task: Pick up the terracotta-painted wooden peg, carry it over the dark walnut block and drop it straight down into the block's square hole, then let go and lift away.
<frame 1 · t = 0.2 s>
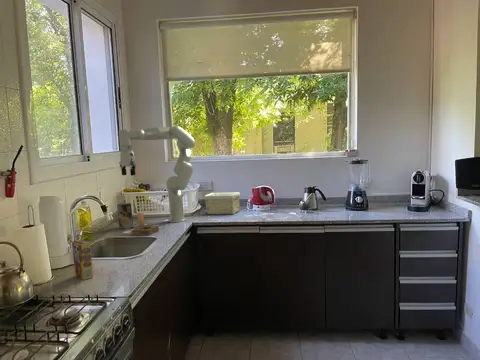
hand: (128, 175, 240), 36 cm above the countertop, tool pointing down, fingers open, 9 cm apart
hole block: (145, 232, 231), on the countertop
storage basket: (223, 212, 283), on the countertop
coffee box: (126, 227, 251), on the countertop
candy box: (84, 277, 157), on the countertop
peg: (141, 228, 245), on the countertop
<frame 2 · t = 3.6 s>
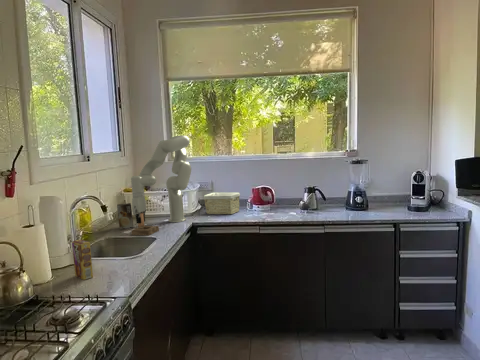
hand: (140, 222, 244), 4 cm above the countertop, tool pointing down, fingers closed on peg, 4 cm apart
peg: (141, 228, 245), on the countertop, touching gripper
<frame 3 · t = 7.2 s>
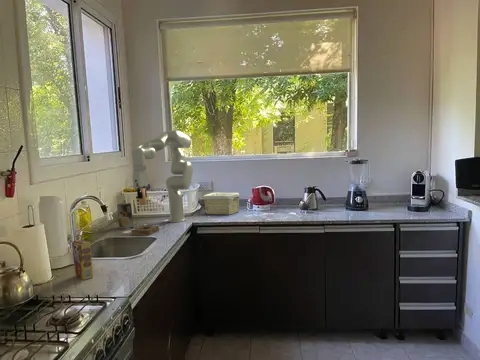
hand: (142, 197, 229), 22 cm above the countertop, tool pointing down, fingers closed on peg, 4 cm apart
peg: (142, 204, 229), point 18 cm above the countertop, touching gripper
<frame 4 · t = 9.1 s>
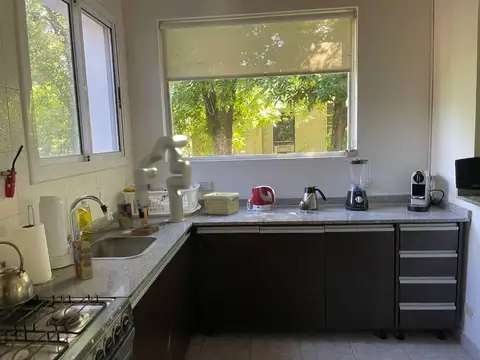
hand: (143, 217, 230), 10 cm above the countertop, tool pointing down, fingers closed on peg, 4 cm apart
peg: (144, 223, 230), point 6 cm above the countertop, touching gripper
when the fingers open (5 cm above the countertop, at t = 10.9 s): peg stays where it is, resting in hole block.
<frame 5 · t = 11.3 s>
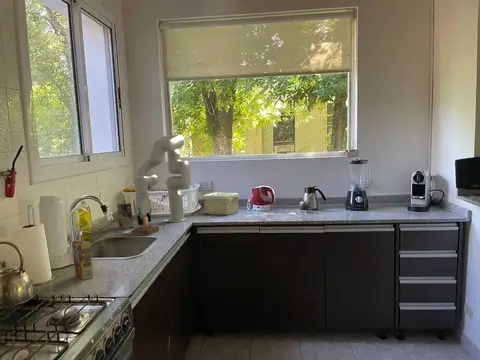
hand: (144, 223, 231), 6 cm above the countertop, tool pointing down, fingers open, 8 cm apart
peg: (145, 232, 231), resting in hole block
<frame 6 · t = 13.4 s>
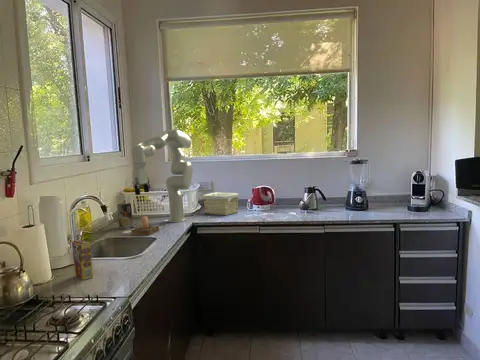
hand: (142, 193, 229), 25 cm above the countertop, tool pointing down, fingers open, 9 cm apart
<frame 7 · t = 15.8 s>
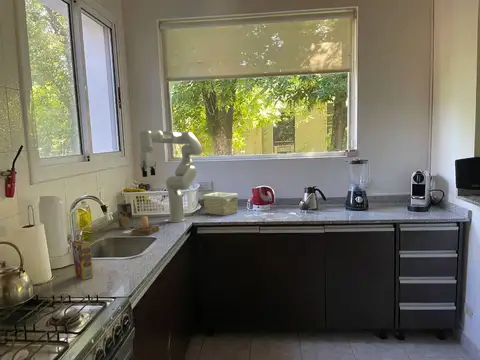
hand: (149, 176, 241), 34 cm above the countertop, tool pointing down, fingers open, 9 cm apart
at the end: peg 0.1 cm off-centre on the hole block, point 0.0 cm above the hole block's base; peg tilted 0°; the gripper is holding nothing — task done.
